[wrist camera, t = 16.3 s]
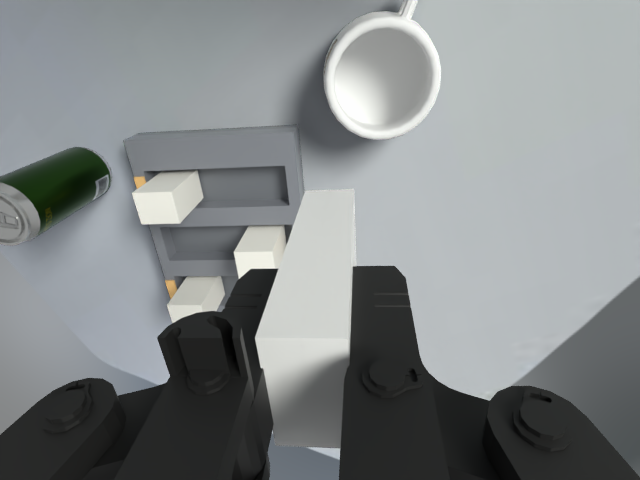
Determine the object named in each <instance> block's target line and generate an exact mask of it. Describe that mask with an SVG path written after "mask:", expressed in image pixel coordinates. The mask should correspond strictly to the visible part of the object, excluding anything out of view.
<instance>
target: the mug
mask: <svg viewBox="0 0 640 480" xmlns="http://www.w3.org/2000/svg"><path fill="white" fill-rule="evenodd" d="M417 2H418V0H403V2H402V4H401V7H400V9H399V12H397V13H395V12H390V11H381V12H371V13H368V14H366V15H363V16H361V17H358V18H356V19H354V20H353V21H352V22H351V23H349V24H348V25H347V26H345V27H344V28H343V29H342V30H341V31H340V33H339V34H338V35H337V36H336V38H335V39H334V40H333V42H332V44H331V46H330V48H329V51H328V53H327V55H326V59H325V65H324V70H323V79H324V90H325V94H326V97H327V100H328V103H329V106H330V109H331V111H332V112H333V114H334V115H335V117H336V118H337V120H338V121H339V122H340V123H341V124H342V125H343V126H344V127H345V128H346V129H347V130H348V131H350V132H352V133H354V134H356V135H358V136H360V137H363V138H368V139H372V140H385V139H391V138H395V137H398V136H401V135H404V134H405V133H407V132H409V131H410V130H412V129H413V128H415V127H416V126H417V125H418V124H419V123H420V122H421V121H422V120H423V119H424V118H425V117H426V116H427V115H428V113H429V111H430V110H431V108H432V107H433V105H434V103H435V101H436V98H437V95H438V92H439V89H440V80H441V67H440V62H439V56H438V53H437V51H436V49H435V47H434V45H433V43H432V41H431V39H430V37H429V35H428V34H427V33H426V32H425V31H424V30H423V29H422V27H421V26H420V25H419V24H418V23H417V22H415V21H413V20H412V19H411V17H412V15H413V12H414V10H415V7H416V5H417Z"/></svg>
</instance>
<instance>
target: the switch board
mask: <svg viewBox="0 0 640 480" xmlns="http://www.w3.org/2000/svg"><path fill="white" fill-rule="evenodd" d="M123 142H124V145H125V148H126V152H127V155H128V158H129V162H130V165H131V168H132V171H133V175H134V181H135V184H136V187H137V189H138V188H140V187H141V186H142V185H144V184H145V183H147V182H148V181H149V180H151V179H152V178H153V177H155V176H156V175H158V174H159V173H160V172H162V171H174V170H197V171H198V175H199V179H200V184H201V188H202V193H203V197H204V198H203V199H202V200H201V201H200V202H199V203H198V205H197V206H196V207H195V208H194V209H193V210H192V211H191V212H190V213H189V214H188V215H187V216H186V217H185V219H184V220H183V221H182V222H181V223H180V224H149V228H150V231H151V234H152V237H153V241H154V244H155V247H156V251H157V254H158V257H159V261H160V264H161V267H162V270H163V274H164V277H165V280H166V281H165V282H166V286H167V289H168V292H169V296H170V299H172V297H173V296H174V294H175V293H176V291H177V290H178V289H179V287H180V286H181V284H182V283H183V281H184V280H185V279H186V277H187V276H221V278H222V283H223V287H224V292H225V295H224V297H223V299H222V301H221V303H220V305H219V307H218V309H217V312H222V310H223V309H225V304H226V302H227V300H228V298H229V297H230V294H231V292H232V290H233V288H234V286H235V284H236V282H237V280H238V279H239V277H238V271H237V266H236V261H235V256H234V251H235V249H236V247H237V245H238V244H239V242H240V240H241V238H242V237H243V235H244V233H245V231H246V230H247V228H248V226H249V225H284V227H285V236H286V244H287V243H288V240H289V237H290V234H291V231H292V228H293V225H294V222H295V219H296V216H297V213H298V210H299V207H300V205H301V202H302V199H303V196H304V193H305V192H304V181H303V171H302V160H301V149H300V138H299V128H298V125H285V126H266V127H246V128H227V129H208V130H189V131H169V132H150V133H138V134H136V135H134V136H132V137H130V138H128V139H125V140H123Z"/></svg>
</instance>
